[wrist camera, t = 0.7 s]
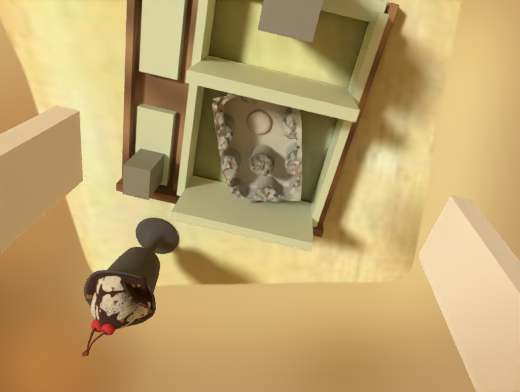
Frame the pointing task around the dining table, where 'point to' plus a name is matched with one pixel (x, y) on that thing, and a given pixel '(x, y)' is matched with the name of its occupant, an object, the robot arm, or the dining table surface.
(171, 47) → the broken strip
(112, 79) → the dining table surface
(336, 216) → the dining table surface
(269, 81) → the sage green shelf unit
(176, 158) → the frame
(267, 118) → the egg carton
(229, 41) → the dining table surface
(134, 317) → the sundae
